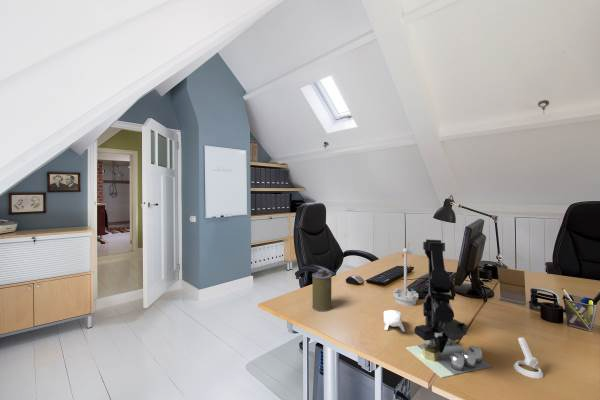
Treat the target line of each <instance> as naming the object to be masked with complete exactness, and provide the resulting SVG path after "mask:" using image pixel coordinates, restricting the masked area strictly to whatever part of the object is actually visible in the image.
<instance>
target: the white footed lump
mask: <svg viewBox="0 0 600 400" xmlns="http://www.w3.org/2000/svg"><path fill="white" fill-rule="evenodd" d="M402 321H403V320H402V313H401V312H400V311H398V310H394V309H388V310H385V311H383V324H384V329H383V330H384V331H388V329H389V326H390V327H393V328H394V327H399V329H400V331H401V332H403V333H404V332H406V330H405V327H404V325H403V322H402Z"/></svg>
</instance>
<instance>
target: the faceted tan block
mask: <svg viewBox="0 0 600 400" xmlns="http://www.w3.org/2000/svg"><path fill="white" fill-rule="evenodd" d="M423 356H424V357H425V359H427V360H430V361H434V362H435V361H437V360H440V351H439V349H438V348H437V347H436V346H432V345H429V344H428V345H425V346H423Z"/></svg>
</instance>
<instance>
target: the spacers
mask: <svg viewBox="0 0 600 400" xmlns="http://www.w3.org/2000/svg"><path fill="white" fill-rule="evenodd" d="M423 344H424V346H425V345H428V344H429V345H432V346H436V344H435V342H434V340H428V341H426V340H423ZM445 346H451V340H450V339H448V341H447V343H446V345H445ZM482 360H483V350H482V349H481V348H480V347H478V346H473V345H471V346H469V347H468V350H467V349H466V350H464V351H462V355H461V354H459V353H451V368H453V369H454V370H456V371H464V366H465V367H467V368H470V369H474V368H476V364H481V363H482Z"/></svg>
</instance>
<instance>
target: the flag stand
mask: <svg viewBox="0 0 600 400" xmlns="http://www.w3.org/2000/svg"><path fill="white" fill-rule="evenodd" d="M402 253H403V254H402V258H403V290H401V288H399V287H398V288H395V289H393V290H392V293H393V294H392V296H393V297H394V301H396V302H397V304H398V303H399V304H398V305H401V304H402V305H401V306H405V305H406V307H411V306H415V305H417V300H418V299H419V293H418V292H417V291H416V290H413V289H412V290H411V291H410V290H409V288H408V253H409V249H408V248H406V247H403V249H402ZM396 302H395V303H396Z"/></svg>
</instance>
